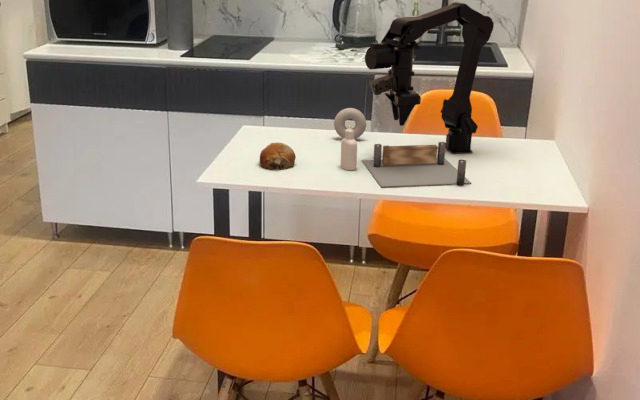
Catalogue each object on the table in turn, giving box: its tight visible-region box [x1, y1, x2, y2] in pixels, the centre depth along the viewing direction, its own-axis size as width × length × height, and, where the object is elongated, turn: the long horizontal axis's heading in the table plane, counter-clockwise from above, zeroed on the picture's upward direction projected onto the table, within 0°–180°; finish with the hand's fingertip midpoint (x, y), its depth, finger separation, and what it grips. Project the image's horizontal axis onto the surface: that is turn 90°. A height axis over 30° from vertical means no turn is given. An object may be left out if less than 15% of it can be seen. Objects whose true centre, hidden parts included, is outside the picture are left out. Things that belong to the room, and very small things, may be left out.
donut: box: [333, 107, 367, 140], centre depth 221 cm, size 10×4×10 cm, turn 84°
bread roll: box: [259, 142, 297, 171], centre depth 198 cm, size 10×10×8 cm
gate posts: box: [373, 141, 467, 187], centre depth 190 cm, size 20×18×6 cm
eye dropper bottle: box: [340, 124, 358, 171], centre depth 195 cm, size 4×6×12 cm
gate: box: [382, 144, 438, 165], centre depth 197 cm, size 15×2×5 cm, turn 100°
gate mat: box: [361, 158, 472, 189], centre depth 194 cm, size 24×22×1 cm
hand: (398, 122), depth 200 cm, fingers open, 6 cm apart
